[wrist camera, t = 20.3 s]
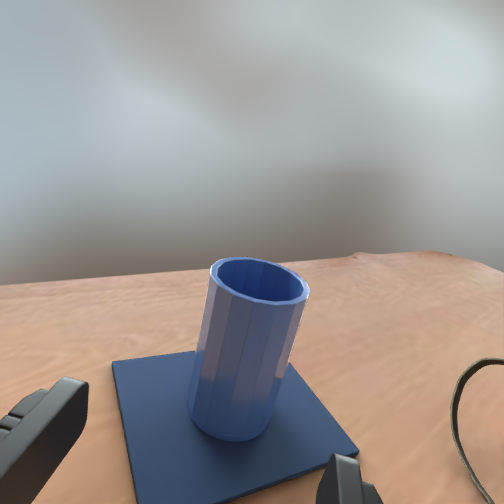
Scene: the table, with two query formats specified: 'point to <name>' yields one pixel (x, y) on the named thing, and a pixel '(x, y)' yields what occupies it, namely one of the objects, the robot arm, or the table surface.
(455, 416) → the binoculars
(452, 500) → the table surface
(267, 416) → the blue tumbler
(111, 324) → the table surface
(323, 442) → the blue mat
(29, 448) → the robot arm
